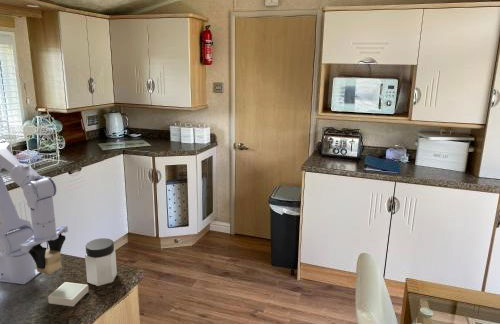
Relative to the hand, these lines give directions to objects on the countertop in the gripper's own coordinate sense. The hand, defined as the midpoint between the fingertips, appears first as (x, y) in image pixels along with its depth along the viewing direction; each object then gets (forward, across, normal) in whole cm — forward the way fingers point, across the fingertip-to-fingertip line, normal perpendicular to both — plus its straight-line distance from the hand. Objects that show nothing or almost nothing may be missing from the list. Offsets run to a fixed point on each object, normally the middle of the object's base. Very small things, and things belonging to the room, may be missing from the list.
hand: (48, 263), depth 109 cm
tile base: (+9, -1, -7) cm, 11 cm away
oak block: (+2, 0, 0) cm, 2 cm away
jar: (+9, +11, -9) cm, 17 cm away
